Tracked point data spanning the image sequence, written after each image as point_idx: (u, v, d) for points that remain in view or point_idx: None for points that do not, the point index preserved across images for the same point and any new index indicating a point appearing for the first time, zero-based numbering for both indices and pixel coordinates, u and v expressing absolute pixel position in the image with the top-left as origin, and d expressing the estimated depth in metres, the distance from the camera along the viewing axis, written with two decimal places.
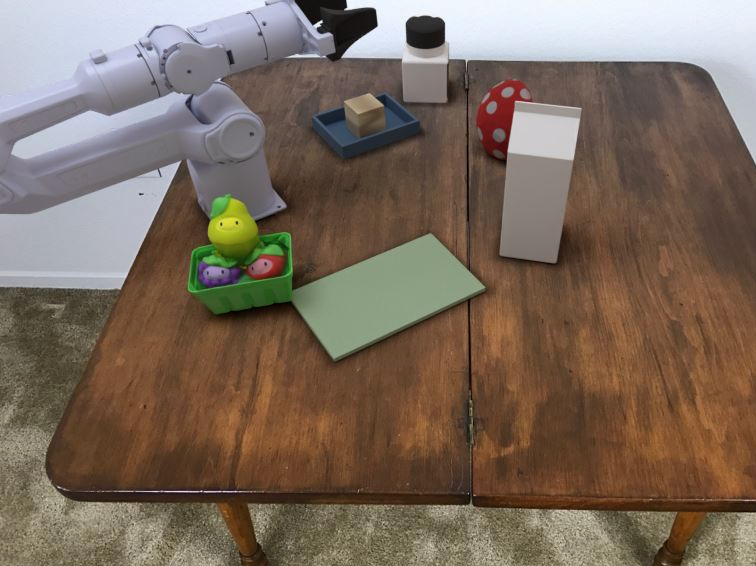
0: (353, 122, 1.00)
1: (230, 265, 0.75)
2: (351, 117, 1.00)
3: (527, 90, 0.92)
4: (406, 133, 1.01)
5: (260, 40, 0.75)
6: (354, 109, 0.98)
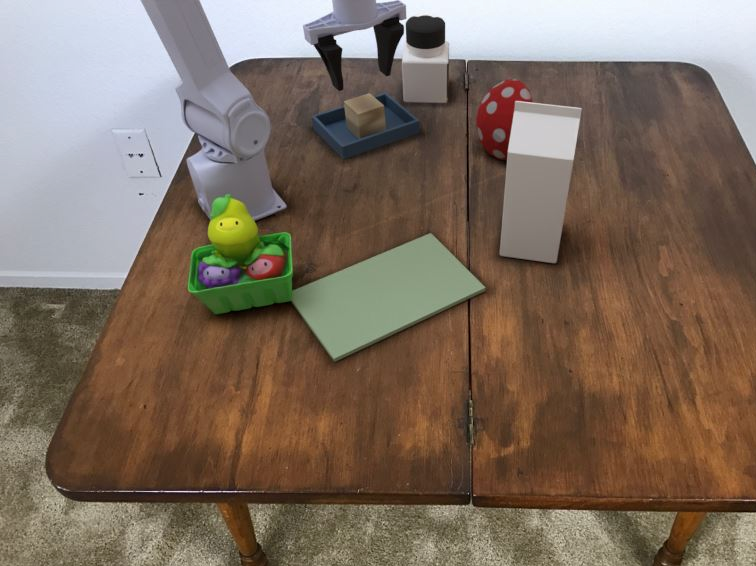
0: (353, 122, 1.00)
1: (230, 265, 0.75)
2: (351, 117, 1.00)
3: (527, 90, 0.92)
4: (406, 133, 1.01)
5: None
6: (354, 109, 0.98)
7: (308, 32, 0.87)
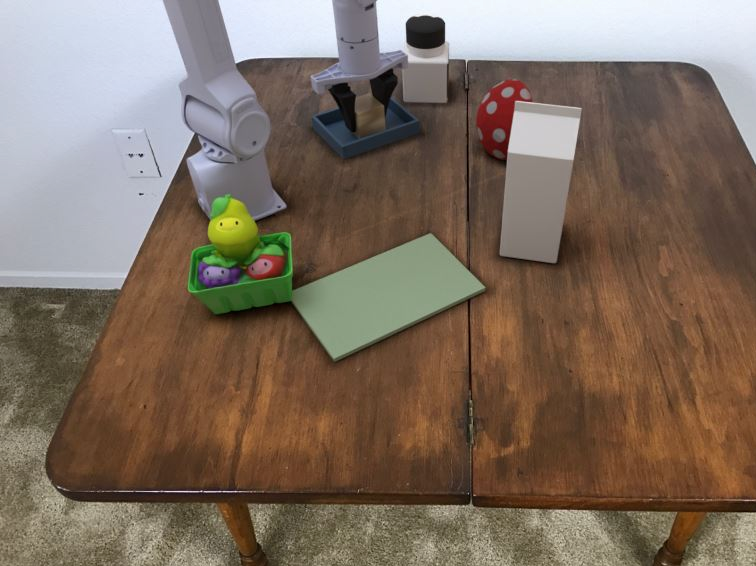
0: None
1: (230, 265, 0.75)
2: None
3: (527, 90, 0.92)
4: (406, 133, 1.01)
5: (375, 33, 0.91)
6: None
7: (315, 83, 0.92)
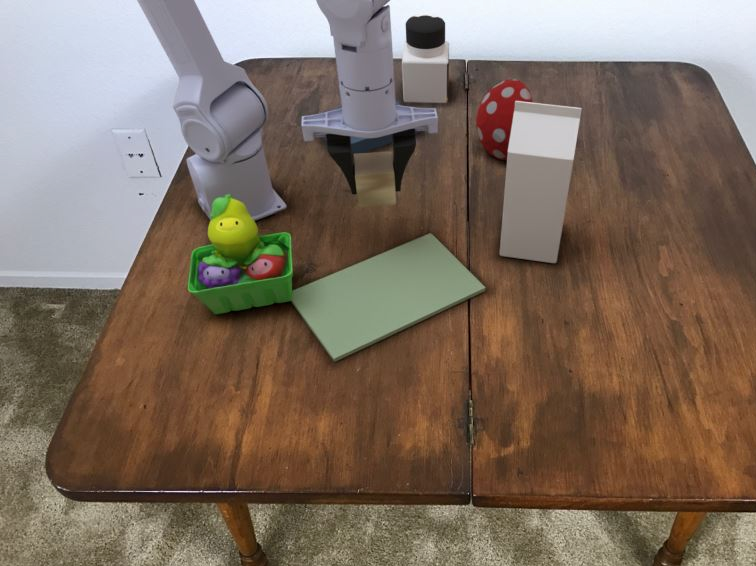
0: None
1: (230, 265, 0.75)
2: None
3: (527, 90, 0.92)
4: None
5: (360, 87, 0.67)
6: (356, 168, 0.76)
7: (302, 126, 0.72)
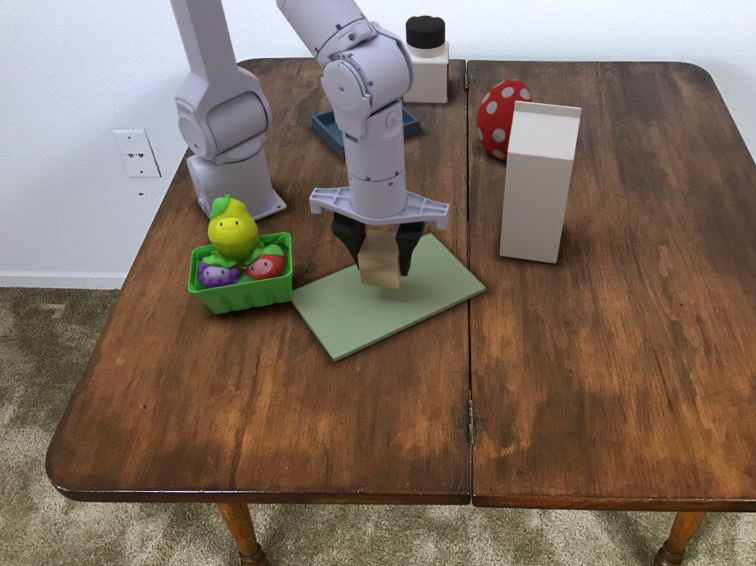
0: None
1: (230, 265, 0.75)
2: None
3: (527, 90, 0.92)
4: (406, 133, 1.01)
5: (361, 176, 0.64)
6: (362, 246, 0.74)
7: None
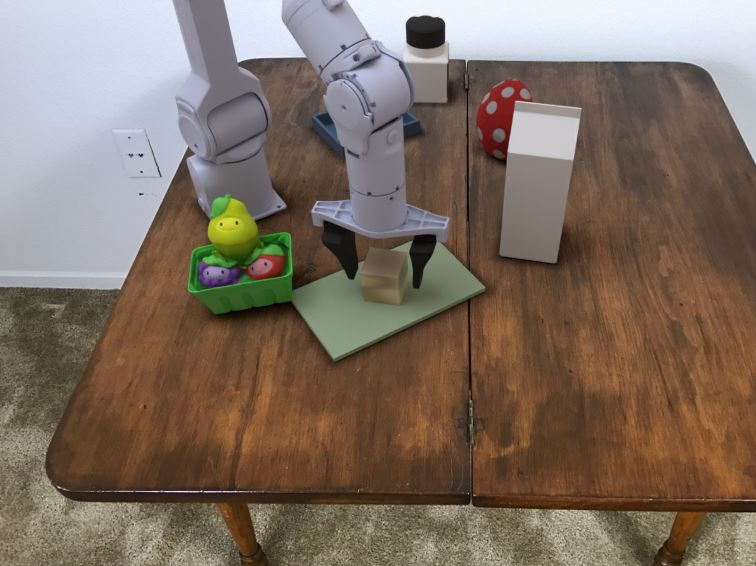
0: None
1: (230, 265, 0.75)
2: None
3: (527, 90, 0.92)
4: (406, 133, 1.01)
5: (363, 191, 0.66)
6: (364, 264, 0.76)
7: None
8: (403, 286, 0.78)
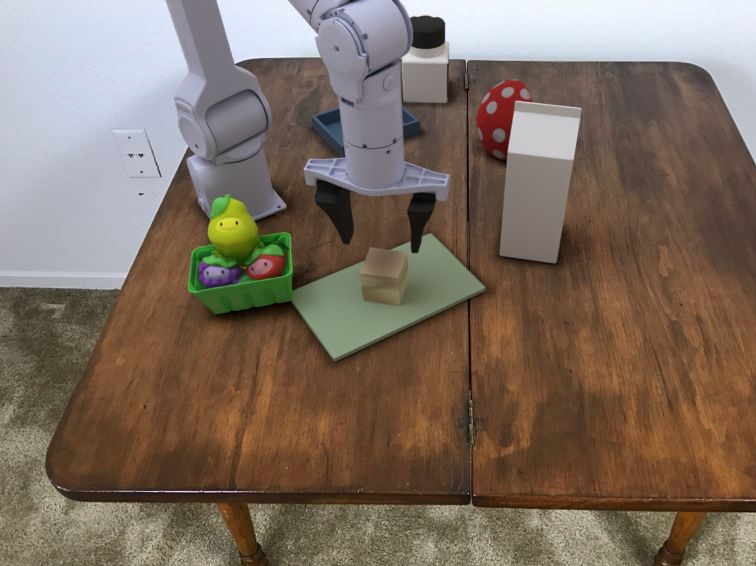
0: None
1: (230, 265, 0.75)
2: None
3: (527, 90, 0.92)
4: (406, 133, 1.01)
5: (358, 143, 0.62)
6: (364, 264, 0.76)
7: None
8: (403, 286, 0.78)
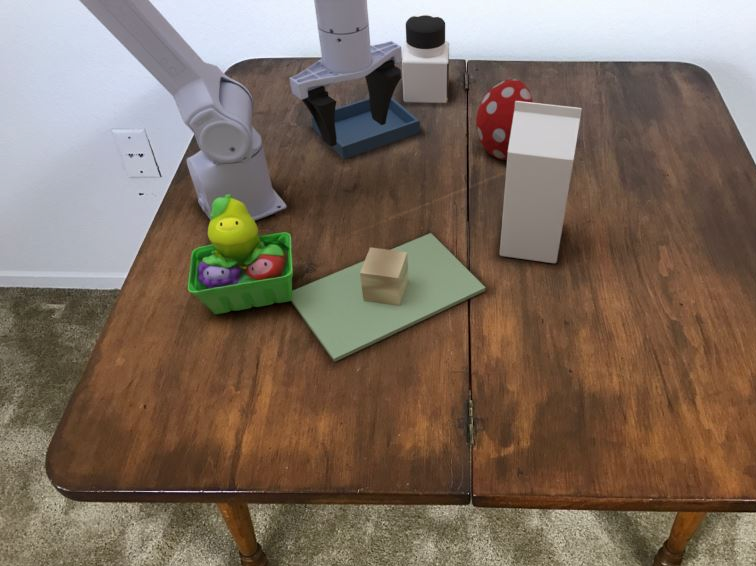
0: None
1: (230, 265, 0.75)
2: None
3: (527, 90, 0.92)
4: (406, 133, 1.01)
5: (352, 29, 0.74)
6: (364, 264, 0.76)
7: (296, 86, 0.76)
8: (403, 286, 0.78)
